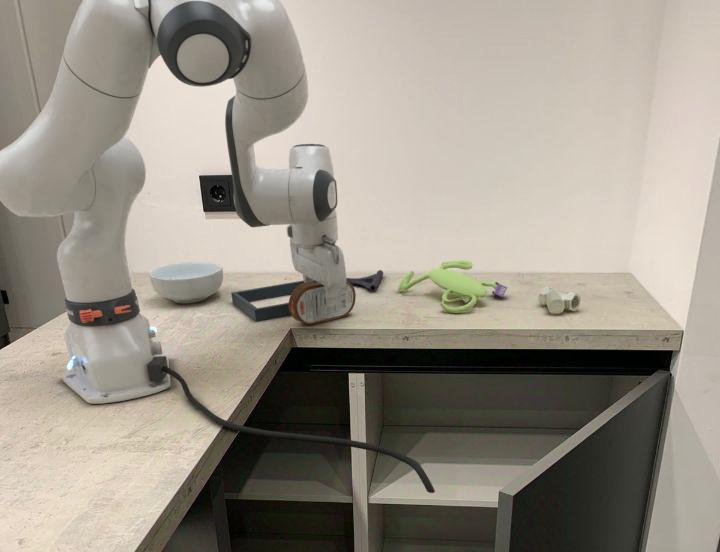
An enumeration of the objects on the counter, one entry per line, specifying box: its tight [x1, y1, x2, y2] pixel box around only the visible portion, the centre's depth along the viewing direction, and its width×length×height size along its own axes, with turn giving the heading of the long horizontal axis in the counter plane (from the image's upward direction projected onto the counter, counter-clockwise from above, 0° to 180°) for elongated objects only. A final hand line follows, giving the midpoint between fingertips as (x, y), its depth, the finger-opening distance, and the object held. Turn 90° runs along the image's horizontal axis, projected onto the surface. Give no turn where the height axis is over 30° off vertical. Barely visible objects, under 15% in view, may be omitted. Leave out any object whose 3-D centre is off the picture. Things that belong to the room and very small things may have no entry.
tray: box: [230, 279, 315, 322], centre depth 167 cm, size 17×21×2 cm
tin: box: [288, 281, 357, 325], centre depth 153 cm, size 15×3×8 cm, turn 122°
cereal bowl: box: [148, 261, 224, 304], centre depth 173 cm, size 17×17×7 cm
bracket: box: [346, 269, 384, 293], centre depth 179 cm, size 14×15×3 cm
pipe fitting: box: [538, 286, 582, 315], centre depth 152 cm, size 8×4×7 cm
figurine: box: [397, 260, 508, 314], centre depth 165 cm, size 18×27×6 cm
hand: (320, 300), depth 153 cm, fingers open, 8 cm apart
